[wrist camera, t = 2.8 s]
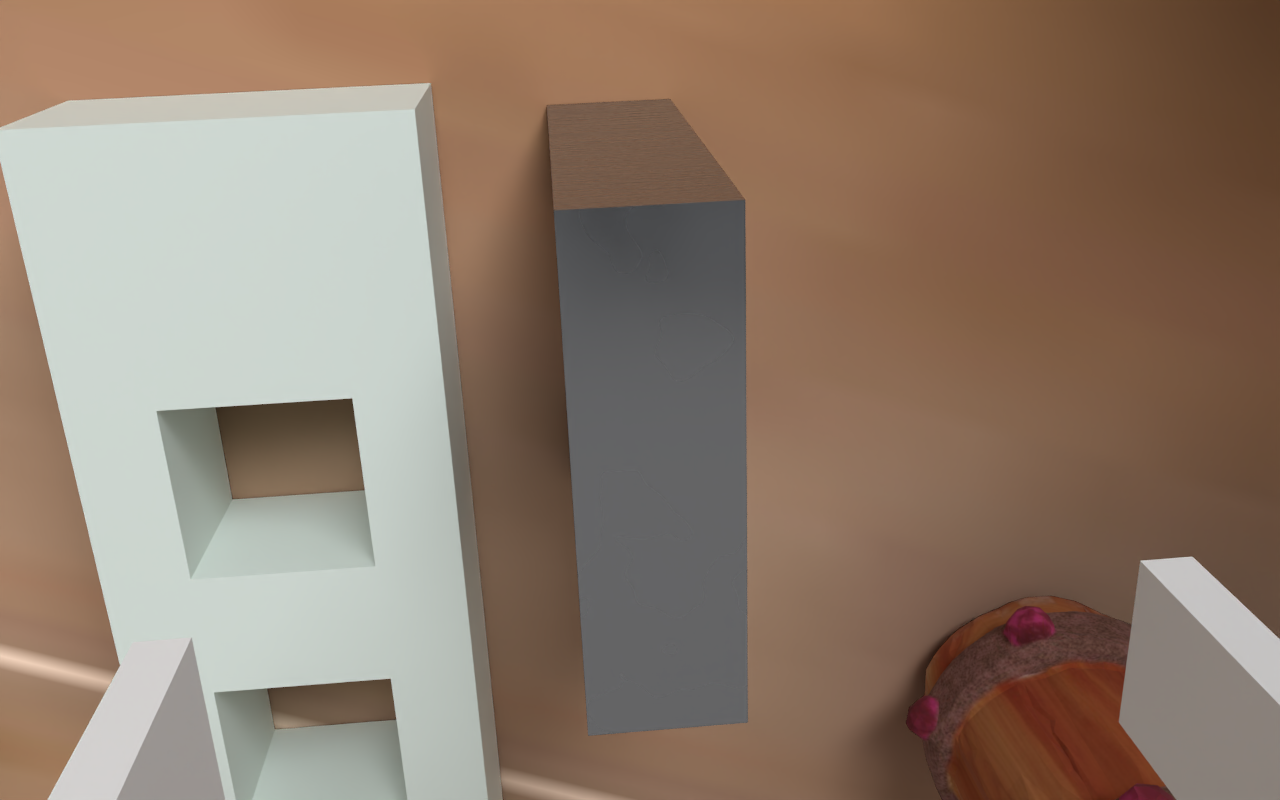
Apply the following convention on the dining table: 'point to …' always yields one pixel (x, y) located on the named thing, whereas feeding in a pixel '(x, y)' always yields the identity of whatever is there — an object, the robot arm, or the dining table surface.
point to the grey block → (654, 413)
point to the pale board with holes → (264, 374)
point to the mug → (1032, 708)
